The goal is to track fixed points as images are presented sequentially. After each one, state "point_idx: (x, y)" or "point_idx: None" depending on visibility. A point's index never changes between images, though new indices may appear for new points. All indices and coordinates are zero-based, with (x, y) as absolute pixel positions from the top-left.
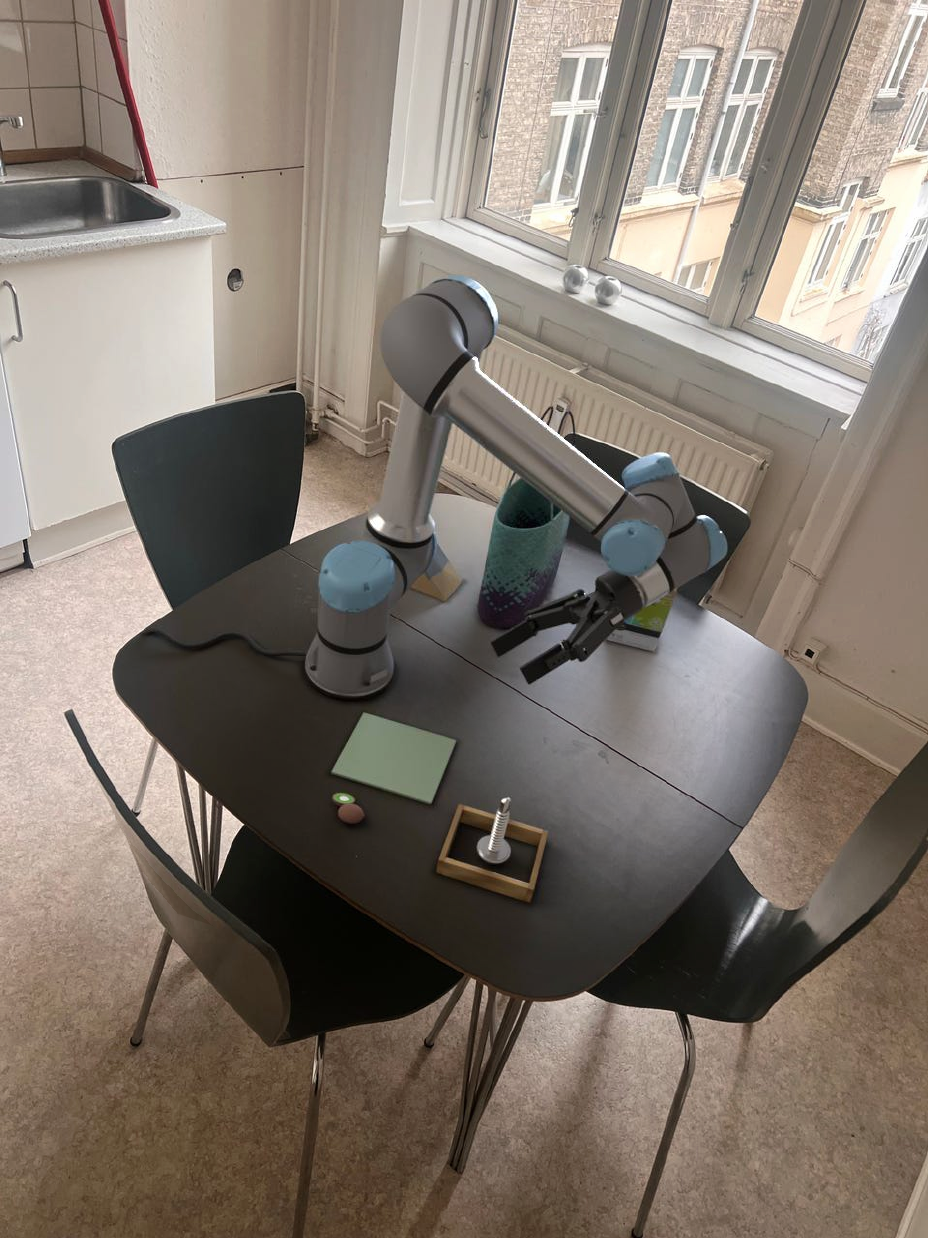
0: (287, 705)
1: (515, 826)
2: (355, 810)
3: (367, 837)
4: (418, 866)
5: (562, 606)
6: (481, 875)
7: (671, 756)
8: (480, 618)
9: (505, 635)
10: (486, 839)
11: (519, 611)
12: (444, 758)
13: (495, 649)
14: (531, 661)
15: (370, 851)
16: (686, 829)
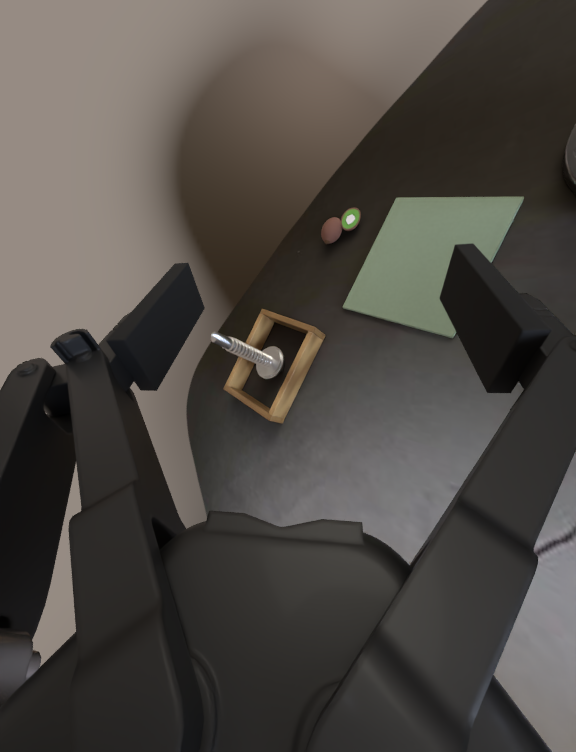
0: (542, 98)
1: (281, 386)
2: (325, 229)
3: (314, 255)
4: (281, 302)
5: (533, 528)
6: None
7: None
8: None
9: (472, 273)
10: (277, 355)
11: None
12: (412, 320)
13: (447, 273)
14: (166, 280)
15: (301, 261)
16: None
